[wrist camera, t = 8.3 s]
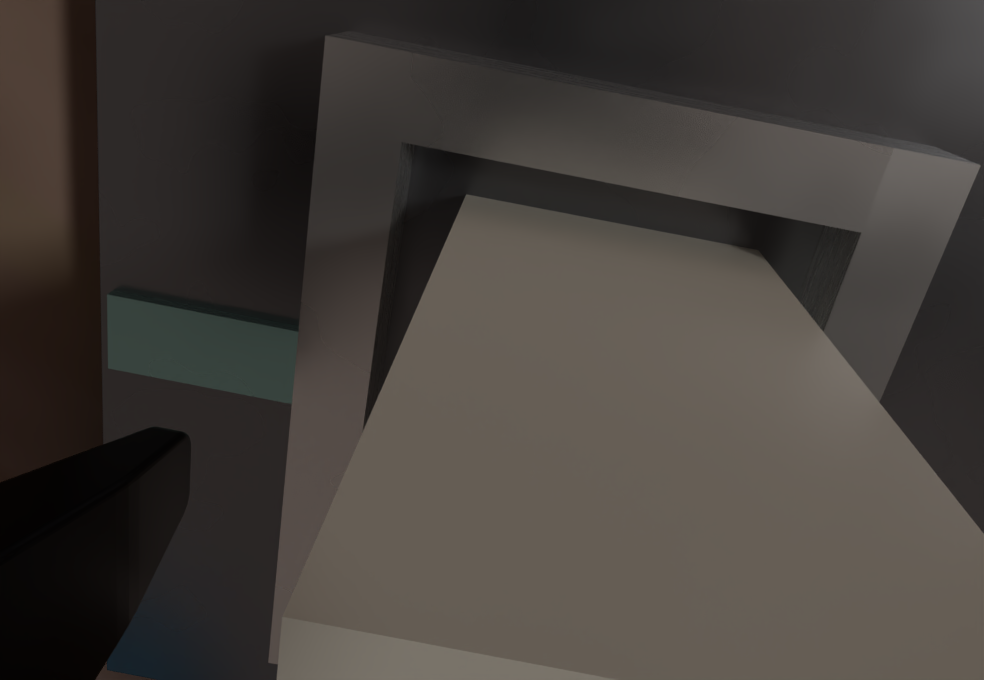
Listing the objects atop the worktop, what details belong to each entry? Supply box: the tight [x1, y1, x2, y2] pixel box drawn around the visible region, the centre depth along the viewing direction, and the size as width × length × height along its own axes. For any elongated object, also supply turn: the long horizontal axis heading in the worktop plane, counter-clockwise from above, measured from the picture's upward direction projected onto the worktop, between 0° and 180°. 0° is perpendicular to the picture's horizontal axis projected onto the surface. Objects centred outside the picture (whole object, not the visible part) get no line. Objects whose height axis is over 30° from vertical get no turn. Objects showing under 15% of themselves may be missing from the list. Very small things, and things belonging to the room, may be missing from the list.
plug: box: [277, 194, 984, 680], centre depth 8 cm, size 4×6×9 cm, turn 170°
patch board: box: [95, 0, 984, 680], centre depth 10 cm, size 14×24×2 cm, turn 170°
